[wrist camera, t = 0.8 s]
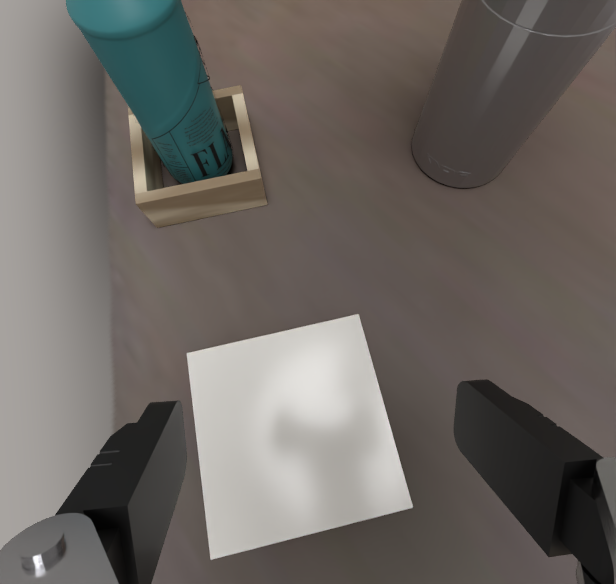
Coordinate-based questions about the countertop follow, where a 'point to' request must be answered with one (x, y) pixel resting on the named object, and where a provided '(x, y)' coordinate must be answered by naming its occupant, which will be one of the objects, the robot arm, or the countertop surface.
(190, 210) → the rectangular wooden frame
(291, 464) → the ceramic tile
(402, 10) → the countertop surface
